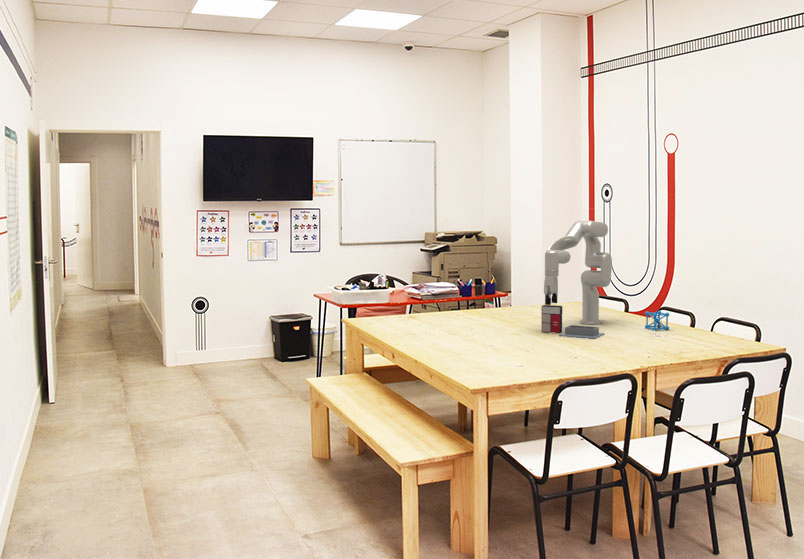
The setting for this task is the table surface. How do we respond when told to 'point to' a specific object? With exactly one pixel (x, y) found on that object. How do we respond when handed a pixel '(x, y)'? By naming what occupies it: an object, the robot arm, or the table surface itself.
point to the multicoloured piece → (552, 318)
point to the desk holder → (582, 332)
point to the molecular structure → (657, 320)
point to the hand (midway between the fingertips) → (551, 303)
